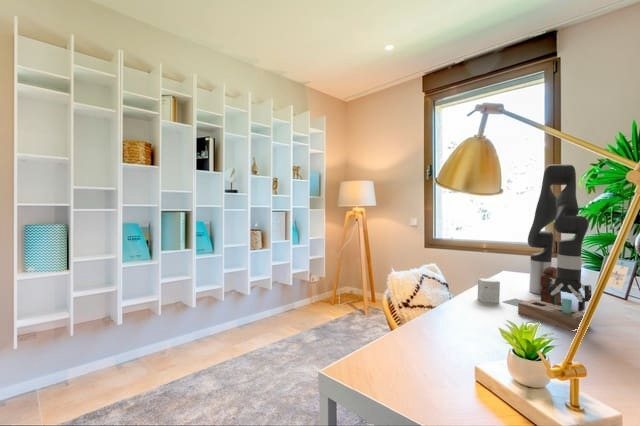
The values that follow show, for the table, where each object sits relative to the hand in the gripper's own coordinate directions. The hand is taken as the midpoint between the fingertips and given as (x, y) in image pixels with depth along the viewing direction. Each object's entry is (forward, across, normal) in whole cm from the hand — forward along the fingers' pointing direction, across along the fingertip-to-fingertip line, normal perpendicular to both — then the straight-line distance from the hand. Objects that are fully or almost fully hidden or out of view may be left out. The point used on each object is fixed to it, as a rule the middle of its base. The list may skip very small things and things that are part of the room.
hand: (567, 307), depth 123 cm
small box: (+7, +32, 0) cm, 33 cm away
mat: (+7, +22, -10) cm, 25 cm away
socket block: (+7, +5, 0) cm, 8 cm away
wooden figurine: (+7, +15, -22) cm, 27 cm away
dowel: (+7, 0, 0) cm, 7 cm away
